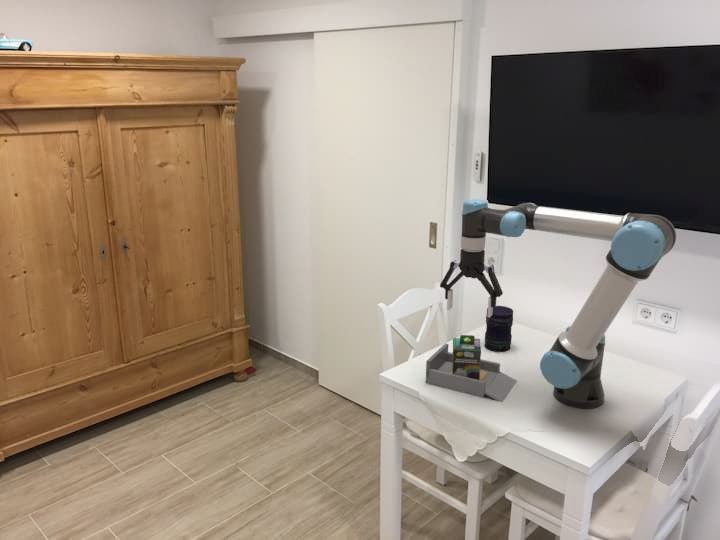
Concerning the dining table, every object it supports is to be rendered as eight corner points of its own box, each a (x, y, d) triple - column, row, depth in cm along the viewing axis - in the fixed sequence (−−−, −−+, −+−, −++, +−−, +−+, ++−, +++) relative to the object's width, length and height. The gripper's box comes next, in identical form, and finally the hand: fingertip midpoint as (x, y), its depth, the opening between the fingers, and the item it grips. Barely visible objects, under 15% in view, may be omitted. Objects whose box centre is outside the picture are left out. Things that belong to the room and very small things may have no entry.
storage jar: (481, 349, 222) (484, 312, 218) (486, 340, 231) (489, 304, 227) (508, 354, 219) (511, 316, 214) (512, 344, 227) (515, 307, 223)
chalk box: (478, 369, 202) (481, 329, 198) (479, 382, 193) (482, 340, 189) (451, 367, 203) (453, 327, 199) (451, 380, 195) (453, 338, 190)
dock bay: (516, 382, 199) (518, 359, 196) (502, 403, 185) (504, 379, 183) (444, 365, 211) (445, 343, 209) (425, 384, 197) (426, 361, 195)
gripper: (515, 251, 183) (510, 315, 189) (440, 241, 195) (438, 302, 201) (508, 256, 177) (503, 322, 183) (431, 246, 188) (429, 309, 195)
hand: (469, 312), depth 192 cm, fingers open, 13 cm apart
